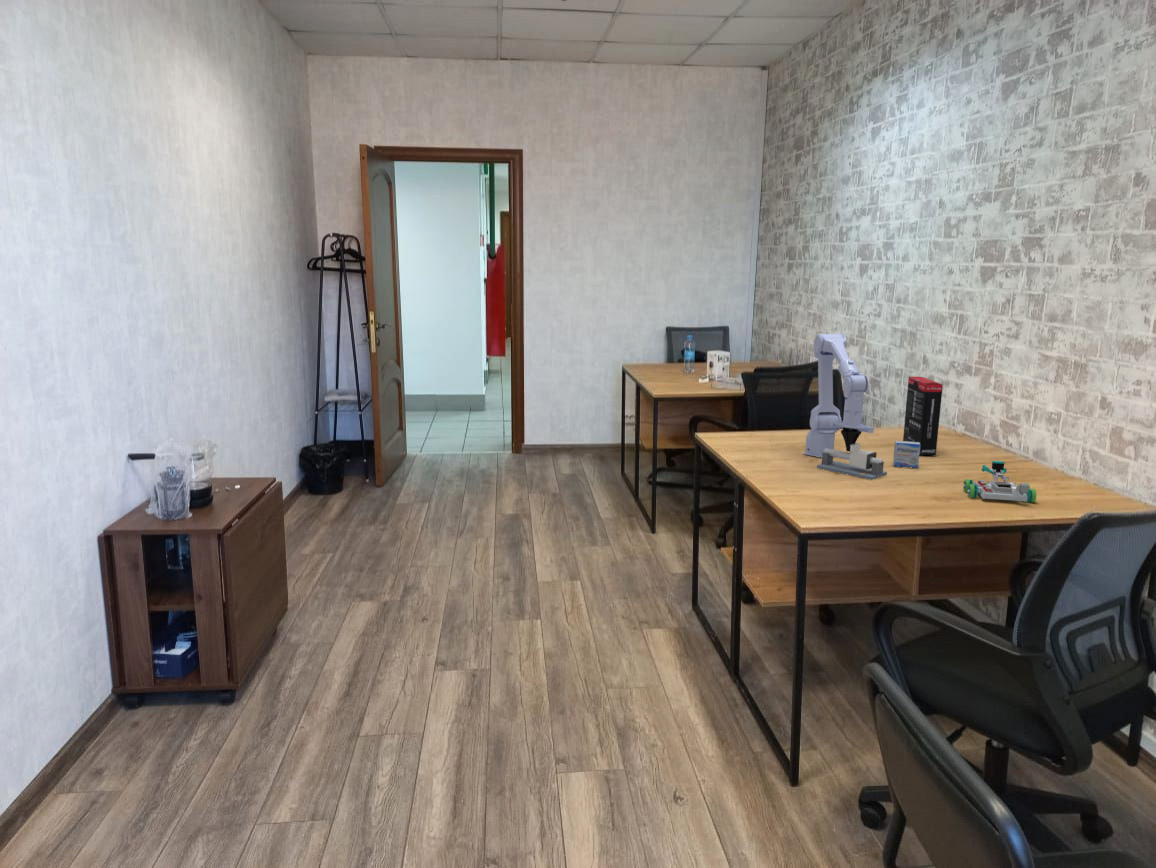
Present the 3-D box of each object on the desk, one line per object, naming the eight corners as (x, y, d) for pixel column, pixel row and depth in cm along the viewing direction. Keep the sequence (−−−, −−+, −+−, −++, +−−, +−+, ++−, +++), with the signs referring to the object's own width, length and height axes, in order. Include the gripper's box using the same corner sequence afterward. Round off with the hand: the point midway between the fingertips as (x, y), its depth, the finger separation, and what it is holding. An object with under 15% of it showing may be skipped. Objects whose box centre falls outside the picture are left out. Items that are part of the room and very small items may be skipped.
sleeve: (848, 465, 264) (850, 444, 263) (855, 462, 268) (857, 442, 266) (865, 468, 260) (867, 447, 259) (872, 466, 263) (874, 445, 262)
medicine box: (893, 467, 273) (896, 442, 272) (892, 464, 278) (895, 439, 276) (918, 469, 271) (920, 444, 269) (916, 465, 275) (919, 441, 274)
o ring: (865, 469, 260) (866, 454, 259) (872, 466, 264) (874, 451, 262) (868, 470, 259) (869, 454, 258) (875, 467, 263) (877, 452, 262)
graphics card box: (937, 457, 288) (945, 383, 283) (917, 456, 289) (925, 382, 283) (918, 446, 305) (925, 376, 299) (900, 446, 305) (907, 376, 300)
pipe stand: (816, 468, 270) (818, 450, 269) (831, 463, 277) (833, 445, 276) (872, 480, 256) (874, 461, 255) (886, 474, 263) (888, 456, 262)
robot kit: (1016, 485, 254) (1019, 456, 252) (1040, 507, 230) (1044, 476, 228) (953, 480, 258) (956, 452, 256) (970, 502, 234) (974, 472, 232)
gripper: (827, 409, 266) (823, 448, 268) (867, 415, 255) (864, 456, 258) (837, 406, 270) (834, 445, 273) (878, 413, 260) (874, 453, 263)
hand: (849, 450), depth 266 cm, fingers closed
